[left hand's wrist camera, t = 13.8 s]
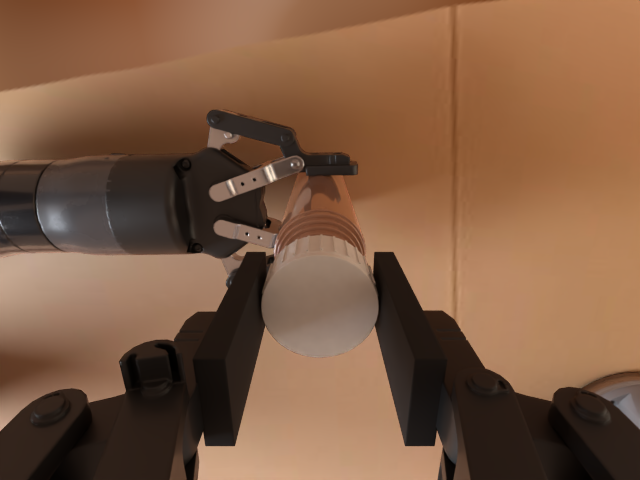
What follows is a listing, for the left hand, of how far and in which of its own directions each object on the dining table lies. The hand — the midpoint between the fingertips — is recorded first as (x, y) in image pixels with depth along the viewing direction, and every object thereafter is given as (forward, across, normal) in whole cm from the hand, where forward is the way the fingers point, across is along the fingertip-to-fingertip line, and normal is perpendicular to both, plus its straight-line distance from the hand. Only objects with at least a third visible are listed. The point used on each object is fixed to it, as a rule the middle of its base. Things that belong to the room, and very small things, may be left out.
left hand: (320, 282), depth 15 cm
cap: (-2, 0, 0) cm, 2 cm away
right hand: (+13, -3, 0) cm, 13 cm away
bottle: (+20, 0, 0) cm, 20 cm away
